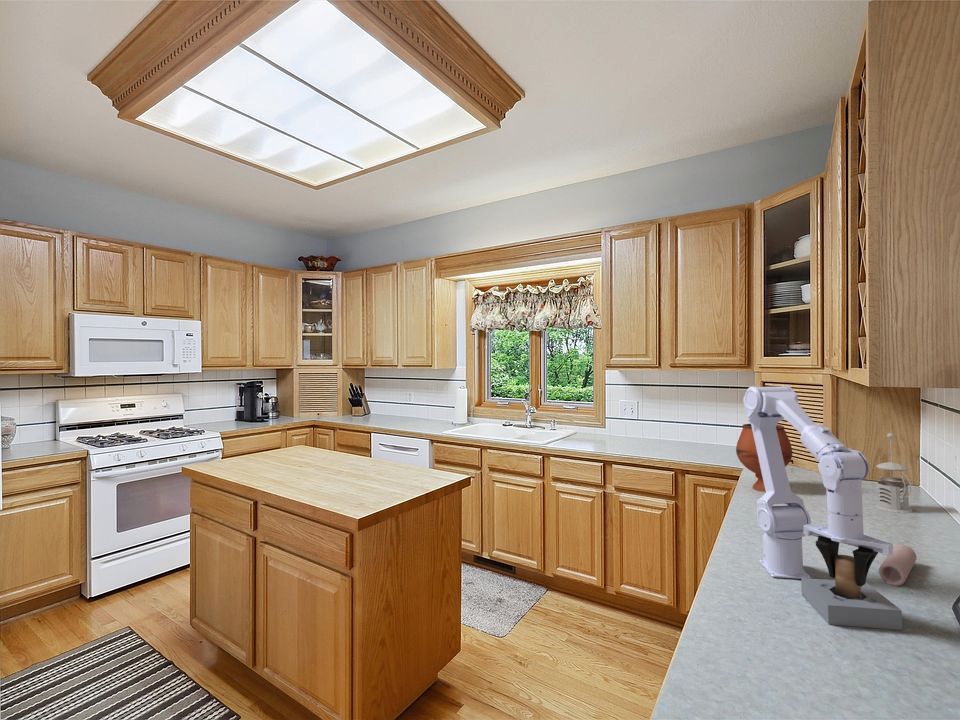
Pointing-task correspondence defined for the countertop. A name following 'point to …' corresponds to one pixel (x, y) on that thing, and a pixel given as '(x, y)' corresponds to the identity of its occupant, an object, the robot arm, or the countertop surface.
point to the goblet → (750, 457)
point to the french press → (893, 488)
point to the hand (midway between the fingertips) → (847, 580)
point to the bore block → (851, 606)
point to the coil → (898, 565)
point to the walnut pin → (846, 577)
